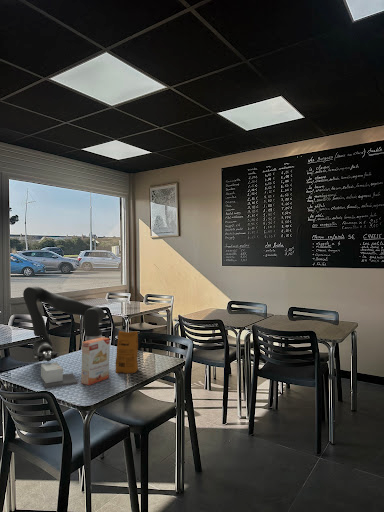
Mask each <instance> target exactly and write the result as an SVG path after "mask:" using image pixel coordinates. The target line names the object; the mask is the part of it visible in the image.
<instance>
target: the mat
mask: <svg viewBox="0 0 384 512" xmlns="http://www.w3.org/2000/svg"><path fill="white" fill-rule="evenodd" d="M41 380H42V383H43V387H44V389H50V388H55V387H57V388H58V387H62V386H64V387H65V386H70V385H77V384H78V380H77V378H76V377H75V375H74V373H73V372H71V373H63V381H58V382H52V383H45V381H44V380H43V379H42V378H41Z"/></svg>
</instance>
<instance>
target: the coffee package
mask: <svg viewBox="0 0 384 512" xmlns="http://www.w3.org/2000/svg"><path fill="white" fill-rule="evenodd" d="M138 335H139V334H138V331H136V330H135V331H129V332H128V331H123V330H122V331H121V330H119V331H118V335H117V344H116V357H115V373H117V374H119V373H123V374H135V373H136V372H137V371H138V370H139V362H138V354H139V353H138V352H139V338H138Z"/></svg>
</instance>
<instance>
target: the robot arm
mask: <svg viewBox="0 0 384 512" xmlns="http://www.w3.org/2000/svg"><path fill="white" fill-rule="evenodd" d="M22 295H23V297H22V298H23V299H24V302H25V305H26V309H27V311H28V314H29V316H30V320H31V324H32V331H33V335H34V336H35V337H43V339H38V340H35V341H34V343H33V344H32V348H33V350H34V352H35V354H34V360H37V361H45V362H47V363H48V362H50V361H52V360H54V359H57V358H59V357H60V351H56V352H55V351H54V350H53V341H52V340H51V337H50V336H49V334H48V331H47V326H46V321H45V319H44V317H43V314H42V313H41V312H40V310H39V308H38V305H37V304H38V302H40V303H44V304H48V305H49V306H50V307H52V308H53V309H54V310H56V311H58V312H61V313H63V314H67V315H74V316H75V315H77V316H82V317H83V329H84V332H85V341H88V340H93V339H97V338H101V337H103V331H102V329H101V328H100V322H101V321H102V320H104V318H105V316H106V315H105V314H106V313H105V311H104V310H103V309H102V308H101V307H99V306H95V305H90V304H86V303H84V302H81V301H79V300H76V299H74V298H70V297H69V296H65V295H61V294H58V293H55V292H52V291H51V292H50V291H49V290H47V289H45V288H43V287H40V286H28V287H26V288H24V290H23V292H22Z"/></svg>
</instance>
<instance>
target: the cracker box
mask: <svg viewBox="0 0 384 512" xmlns="http://www.w3.org/2000/svg"><path fill="white" fill-rule="evenodd" d="M110 339H111V338H109V337H103V336H102V337H101V338H97V339H93V340H88V341H86V340H85V341H81V371H80V372H81V378H80V379H81V380H80V381H81V384H84V385H85V386H91V385H93V384H96V383H99V382H101V381H104V380H107V379H109V378H110V353H111V350H110V347H111V345H110V344H111V343H110V342H111V341H110Z"/></svg>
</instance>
